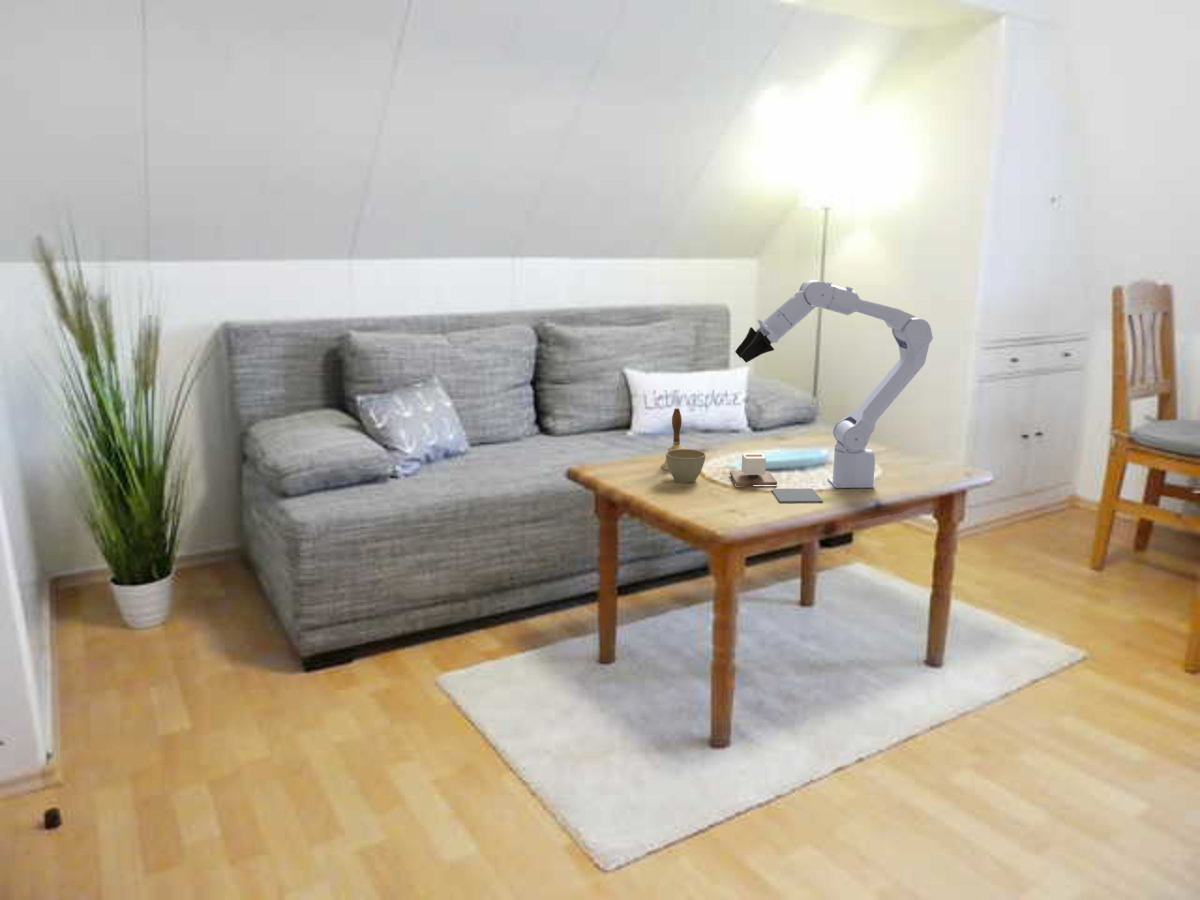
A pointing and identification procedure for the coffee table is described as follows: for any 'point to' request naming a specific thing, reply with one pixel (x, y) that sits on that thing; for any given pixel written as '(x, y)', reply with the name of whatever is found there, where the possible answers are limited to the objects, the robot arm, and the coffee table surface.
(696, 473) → the flower pot
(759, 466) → the cream cube
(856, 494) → the coffee table surface
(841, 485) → the robot arm
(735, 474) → the post stand
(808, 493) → the mat
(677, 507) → the coffee table surface
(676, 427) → the hand bell
